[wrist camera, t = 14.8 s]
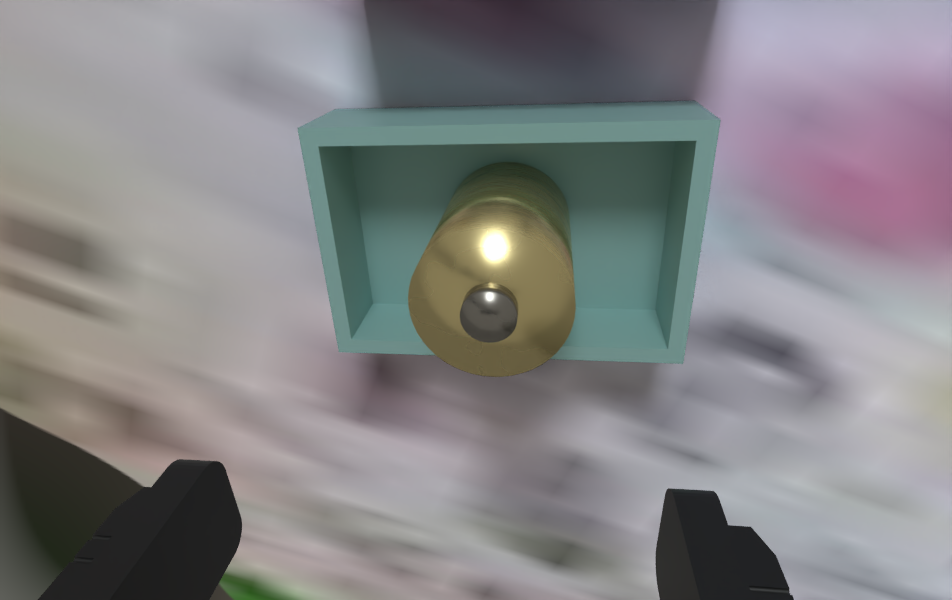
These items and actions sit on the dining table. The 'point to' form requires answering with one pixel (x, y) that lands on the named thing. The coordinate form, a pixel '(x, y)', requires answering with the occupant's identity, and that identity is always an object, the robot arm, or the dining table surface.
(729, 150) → the dining table surface
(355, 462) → the dining table surface
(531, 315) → the brass cell
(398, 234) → the trough
